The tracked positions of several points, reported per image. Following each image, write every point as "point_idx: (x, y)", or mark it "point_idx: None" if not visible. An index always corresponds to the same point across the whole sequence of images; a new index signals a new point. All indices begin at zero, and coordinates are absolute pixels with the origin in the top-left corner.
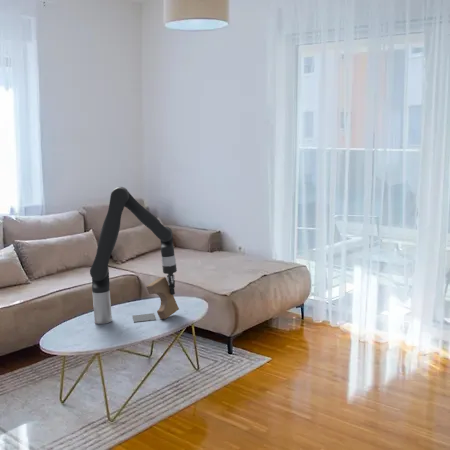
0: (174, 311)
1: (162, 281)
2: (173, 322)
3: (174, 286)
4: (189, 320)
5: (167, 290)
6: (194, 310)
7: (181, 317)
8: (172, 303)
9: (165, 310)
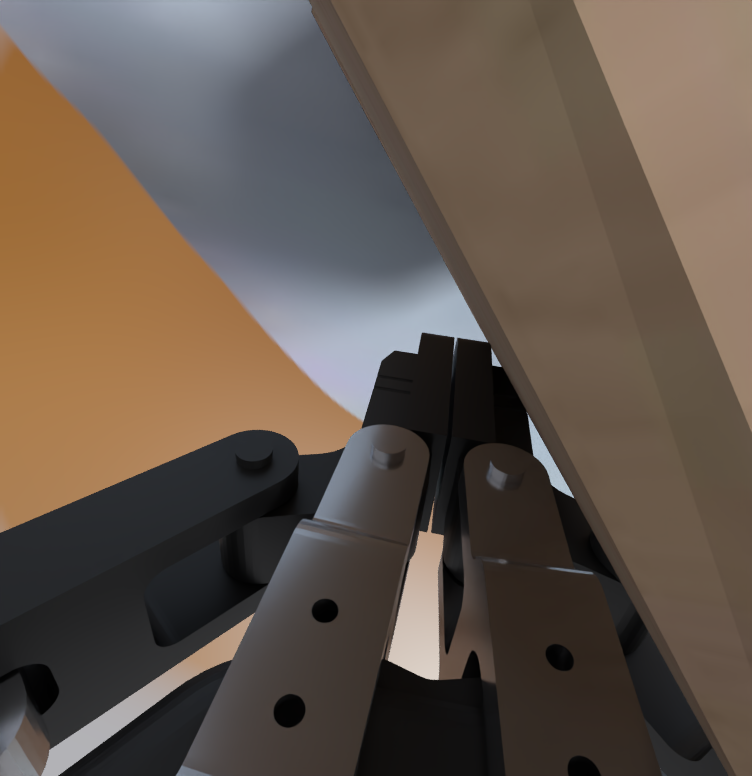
0: (428, 231)
1: (539, 415)
2: (249, 131)
3: (195, 565)
4: (264, 316)
5: (479, 321)
6: (546, 449)
7: (394, 274)
8: (445, 262)
9: (339, 63)
